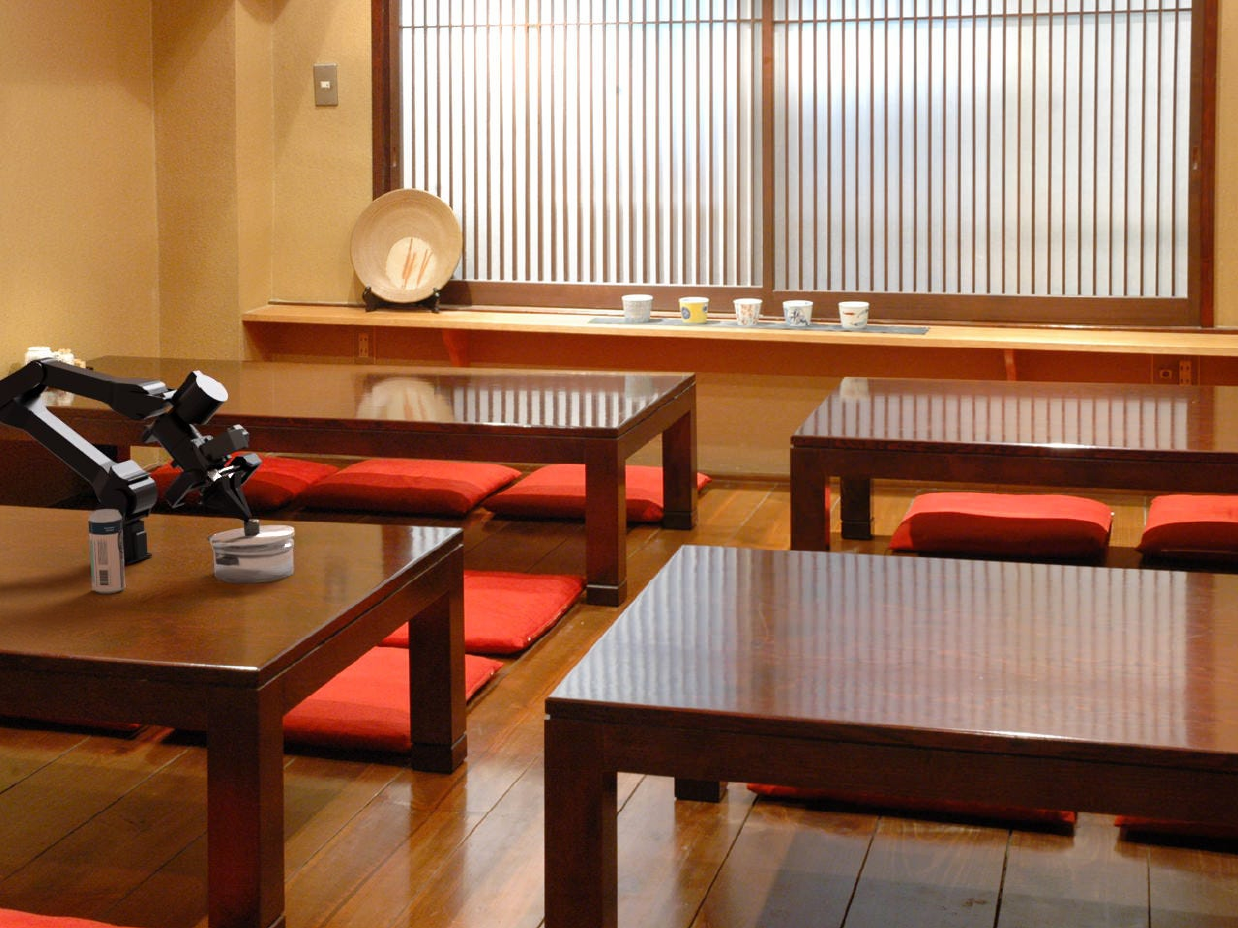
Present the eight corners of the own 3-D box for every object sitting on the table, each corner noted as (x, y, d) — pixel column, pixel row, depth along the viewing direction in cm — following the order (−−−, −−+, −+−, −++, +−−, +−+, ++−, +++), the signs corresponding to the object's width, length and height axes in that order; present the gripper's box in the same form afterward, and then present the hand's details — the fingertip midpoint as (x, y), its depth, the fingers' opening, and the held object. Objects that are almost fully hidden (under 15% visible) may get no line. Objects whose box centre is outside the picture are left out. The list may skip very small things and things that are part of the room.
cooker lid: (188, 548, 243) (186, 529, 243) (237, 530, 255) (235, 512, 254) (264, 548, 238) (262, 529, 237) (310, 530, 250) (308, 512, 249)
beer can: (132, 590, 237) (128, 511, 235) (103, 596, 233) (98, 516, 231) (114, 584, 240) (110, 506, 238) (85, 590, 236) (81, 511, 234)
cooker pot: (189, 581, 242) (188, 550, 241) (250, 557, 257) (249, 528, 256) (258, 589, 238) (257, 558, 237) (316, 565, 252) (315, 535, 251)
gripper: (176, 419, 236) (243, 497, 234) (249, 402, 253) (311, 474, 251) (136, 468, 240) (201, 545, 238) (210, 448, 257) (271, 519, 256)
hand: (248, 519), depth 246 cm, fingers closed, pressing on cooker lid
